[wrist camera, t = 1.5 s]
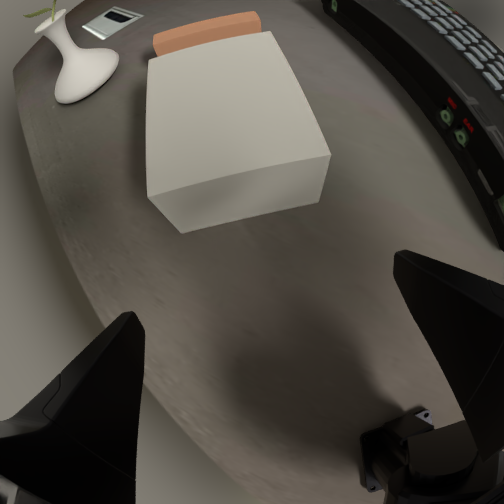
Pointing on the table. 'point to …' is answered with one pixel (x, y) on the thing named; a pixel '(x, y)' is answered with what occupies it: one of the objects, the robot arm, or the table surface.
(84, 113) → the table surface
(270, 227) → the table surface
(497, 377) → the robot arm
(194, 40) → the block
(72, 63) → the flower in vase
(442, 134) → the computer keyboard
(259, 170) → the slab
